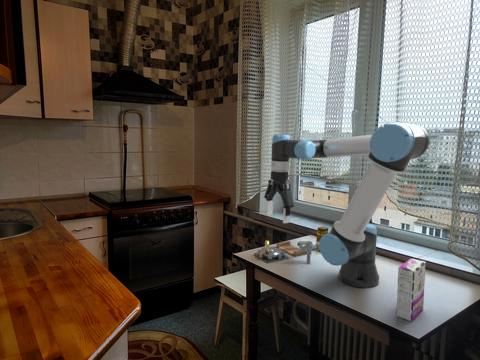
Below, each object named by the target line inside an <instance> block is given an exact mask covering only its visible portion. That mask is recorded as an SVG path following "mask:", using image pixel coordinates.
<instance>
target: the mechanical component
mask: <svg viewBox="0 0 480 360" xmlns="http://www.w3.org/2000/svg"><path fill="white" fill-rule="evenodd" d="M296 245H297V247H298V248H299V249H300V250H301V251H306V254H307V255H306V264H307V265H311V256H312V254H313V253H312V252H316V251H318V250H319V242H317V244H313V241H310V240H303V241H302V240H299V241H298V242H297V243H296ZM316 247H317V248H316ZM314 248H315V249H314Z"/></svg>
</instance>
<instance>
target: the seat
mask: <svg viewBox="0 0 480 360" xmlns="http://www.w3.org/2000/svg"><path fill="white" fill-rule="evenodd" d="M276 248H282V249H283V251H285V254H289V255H290V256H292V257H295V258H298V257H301V256H307V254H306V251H301V250H300V248H299V247H298V246H297V247H296V246H295V245H292V244H291V241H288V240H287V241H282V242H278V243H276Z"/></svg>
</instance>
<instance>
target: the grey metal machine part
mask: <svg viewBox="0 0 480 360" xmlns="http://www.w3.org/2000/svg"><path fill="white" fill-rule="evenodd" d="M257 253H258V254H259V257H261V258H263V257H265V258H268V259H274V258H278V259H280V258H282V256H285V255H286V252H285V251H283V249H282V248H277V247H275V246H270V240H265V241H264V246H263V247H262V246H261V248H260V249H257Z"/></svg>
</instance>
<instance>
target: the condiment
mask: <svg viewBox="0 0 480 360" xmlns="http://www.w3.org/2000/svg"><path fill="white" fill-rule="evenodd" d="M325 234H329V228H328V227H325V226H318V227H317V231H316V244H317V242H320V239H321V238H322V237H323V236H324V235H325ZM316 244H315V245H316ZM313 248H314V249H315V248H317V247H313ZM315 252H316V253H317V254H321V251H320V249H319V250H318V251H315Z"/></svg>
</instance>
